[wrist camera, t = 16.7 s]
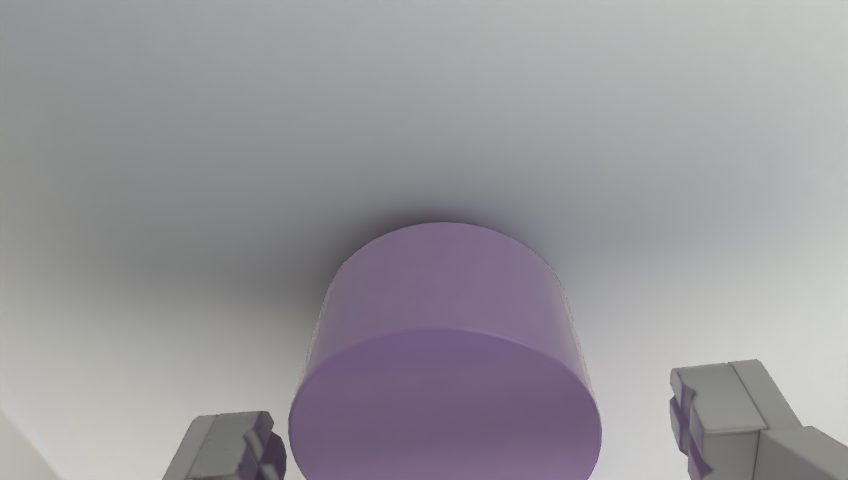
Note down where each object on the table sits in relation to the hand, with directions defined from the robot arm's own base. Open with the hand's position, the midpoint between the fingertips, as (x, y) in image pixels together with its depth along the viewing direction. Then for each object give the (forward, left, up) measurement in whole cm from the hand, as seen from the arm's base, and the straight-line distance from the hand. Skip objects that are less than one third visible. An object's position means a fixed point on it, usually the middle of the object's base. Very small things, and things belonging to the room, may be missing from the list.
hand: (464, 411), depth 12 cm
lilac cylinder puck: (0, 0, -4) cm, 4 cm away
